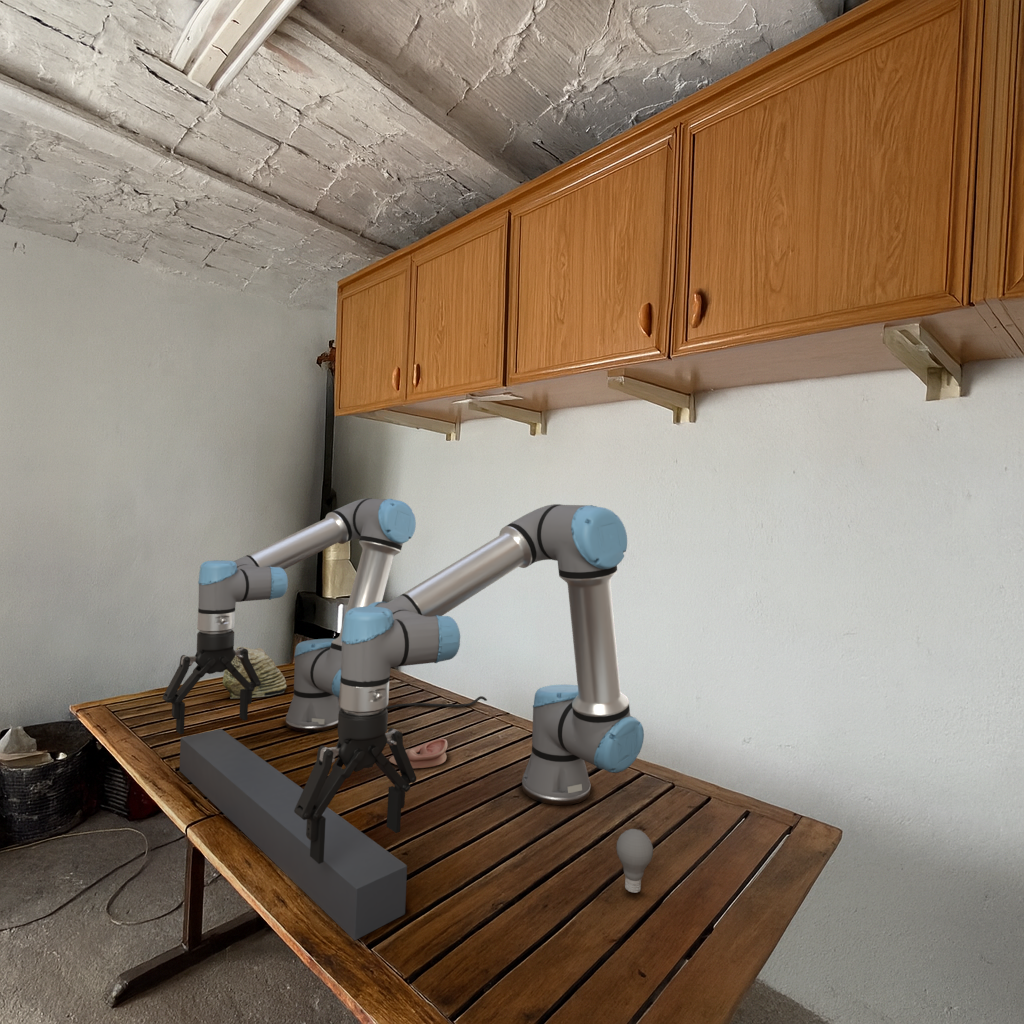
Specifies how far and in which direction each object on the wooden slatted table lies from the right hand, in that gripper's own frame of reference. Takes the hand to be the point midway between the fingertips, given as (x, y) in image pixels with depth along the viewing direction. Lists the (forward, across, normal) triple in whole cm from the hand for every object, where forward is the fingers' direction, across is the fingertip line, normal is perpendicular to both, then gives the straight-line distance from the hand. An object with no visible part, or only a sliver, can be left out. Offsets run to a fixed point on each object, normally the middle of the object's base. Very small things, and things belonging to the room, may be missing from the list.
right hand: (356, 843), depth 99 cm
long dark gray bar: (+10, 0, +30) cm, 32 cm away
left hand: (-1, 0, +60) cm, 60 cm away
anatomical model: (+9, +41, +38) cm, 57 cm away
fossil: (+10, +31, +110) cm, 114 cm away
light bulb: (+9, +36, -27) cm, 46 cm away
